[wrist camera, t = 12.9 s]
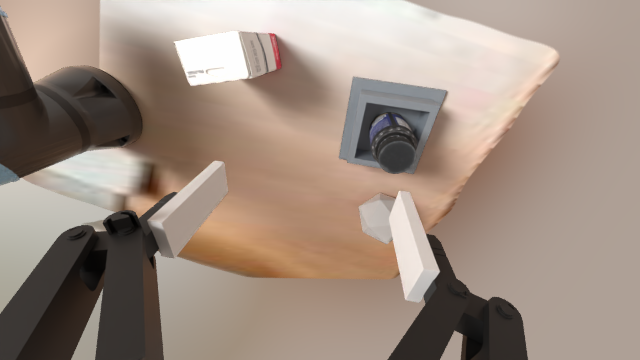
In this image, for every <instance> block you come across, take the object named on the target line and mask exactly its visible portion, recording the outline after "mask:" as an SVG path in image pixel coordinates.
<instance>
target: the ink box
mask: <svg viewBox="0 0 640 360" xmlns="http://www.w3.org/2000/svg"><path fill="white" fill-rule="evenodd" d="M174 45H175V48H176V50H177V53H178V56H179V58H180V61H181V64H182V67H183V69H184V72H185V74H186V77H187V79H188V82H189V84H190V85H191V86H197V85H206V84H213V83H221V82H228V81H236V80H243V79H251V78H255V77H258V76H261V75H264V74H266V73H269V72H272V71H275V70H277V69H280V68H281V61H280V55H279V50H278V45H277V41H276V37H275V34H272V33H255V32H242V31H232V32H225V33H219V34H213V35H208V36H202V37H196V38H191V39H185V40H180V41H175V42H174Z"/></svg>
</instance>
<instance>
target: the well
mask: <svg viewBox="0 0 640 360" xmlns="http://www.w3.org/2000/svg"><path fill="white" fill-rule="evenodd" d="M445 94H446V90H441V89H434V88H427V87H420V86H413V85H407V84H400V83H393V82H386V81H379V80H372V79H365V78H359V77H353V81H352V87H351V93H350V98H349V104H348V109H347V115H346V121H345V126H344V132H343V138H342V143H341V149H340V155H339V159H345V160H347V163H353V164H359V165H365V166H370V167H376V168H381V166H380V165H379V163H378V162H377V161H376V160H375V159H374V158H373V156H372V152H371V144H370V136H369V128H370V125H371V123H372V121H373V120H374V119H375V118H376V117H377V116H378V115H380V114H383V113H386V112H394V113H397V114H400V115H401V116H402V117H403V118H404V119H405V121H406V123H407V124H408V126H409V128H410V129H411V131H412V132H413V134H414V136H415V138H416V141H417V150H416V161H415V163H414V164H413V166H412V167H411V168H410V169H409V170H407V171H405V173H411V174H414V172H415V170H416V167H417V164H418V162H419V159H420V157H421V154H422V152H423V149H424V147H425V144H426V142H427V139H428V137H429V134H430V132H431V129H432V127H433V124H434V121H435V119H436V116H437V114H438V111H439V109H440V106H441V104H442V101H443V99H444V96H445Z"/></svg>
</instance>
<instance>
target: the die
mask: <svg viewBox="0 0 640 360" xmlns="http://www.w3.org/2000/svg"><path fill="white" fill-rule="evenodd" d="M395 200H396V198H393V197H390V196H387V195H384V194H382V193H378V194H377V195H375V196H374V197H372V198H371V199H369V200H368V201H366V202H365V203H363V204H362V205H360V206H359V212H360V218H361V225H362V231H363V232H364V233H366V234H367V235H369V236H371V237H373V238H375V239H377V240H379V241H381V242H383V243H385V244H388V243H389V242H391V241H392V240H393V237H392V232H391V227H390V223H389V216H390V214H391V211H392V208H393V206H394V203H395Z"/></svg>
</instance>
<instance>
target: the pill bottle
mask: <svg viewBox="0 0 640 360" xmlns="http://www.w3.org/2000/svg"><path fill="white" fill-rule="evenodd" d="M369 136H370V144H371V152H372V156H373V158H374V159H375V160H376V161H377V162H378V163H379V165H380V166H381V168H382V169H383V170H385V171H386V172H388V173H392V174H398V173H403V172H405V171H407V170H409V169H410V168H411V167H412V166H413V164H414V163H415V161H416V150H417V141H416V138H415V136H414V134H413V132H412V131H411V129H410V128H409V126H408V124H407V123H406V121H405V119H404V118H403V117H402V116H401V115H400V114H397V113H394V112H386V113H383V114H380V115H378V116H377V117H376V118H375V119H374V120H373V121H372V123H371V125H370V128H369Z"/></svg>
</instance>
